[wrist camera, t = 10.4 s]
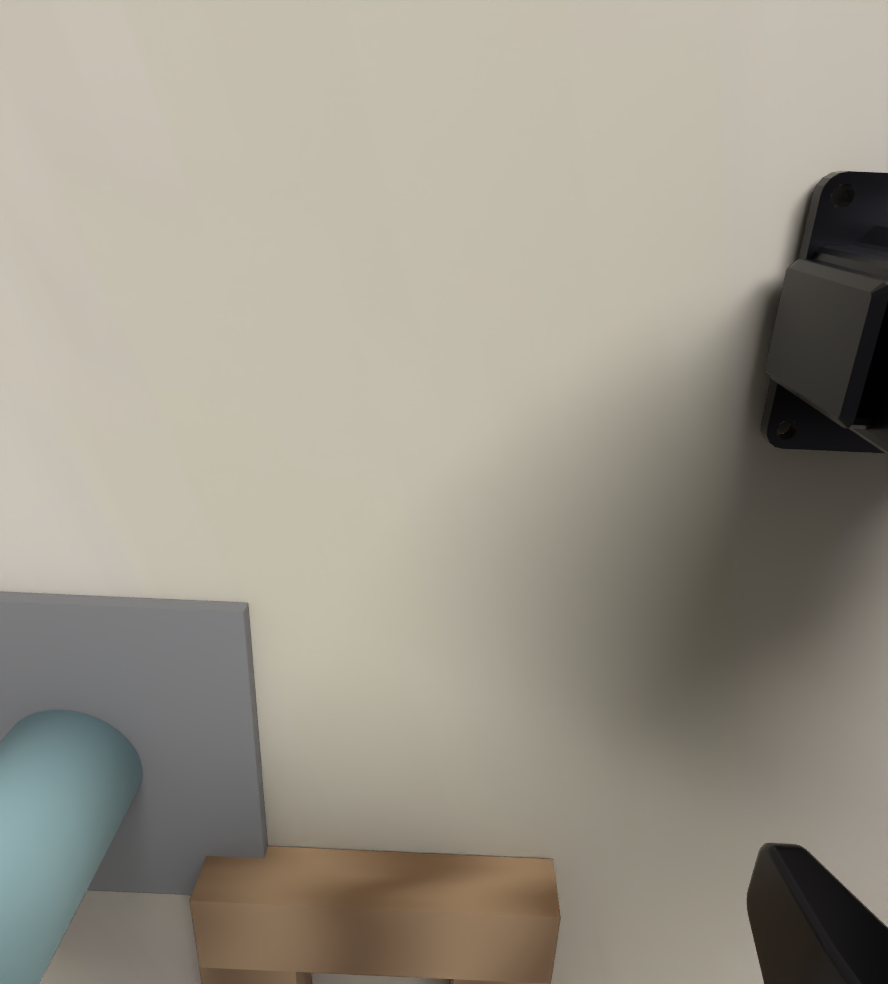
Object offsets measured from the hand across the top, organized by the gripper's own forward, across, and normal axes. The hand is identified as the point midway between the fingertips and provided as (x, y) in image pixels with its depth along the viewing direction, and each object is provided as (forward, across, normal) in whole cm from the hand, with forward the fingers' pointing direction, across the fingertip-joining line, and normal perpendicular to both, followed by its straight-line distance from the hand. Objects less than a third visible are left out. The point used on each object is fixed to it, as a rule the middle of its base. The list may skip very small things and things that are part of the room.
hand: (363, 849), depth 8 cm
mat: (+12, +11, +11) cm, 20 cm away
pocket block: (+12, +1, +21) cm, 24 cm away
